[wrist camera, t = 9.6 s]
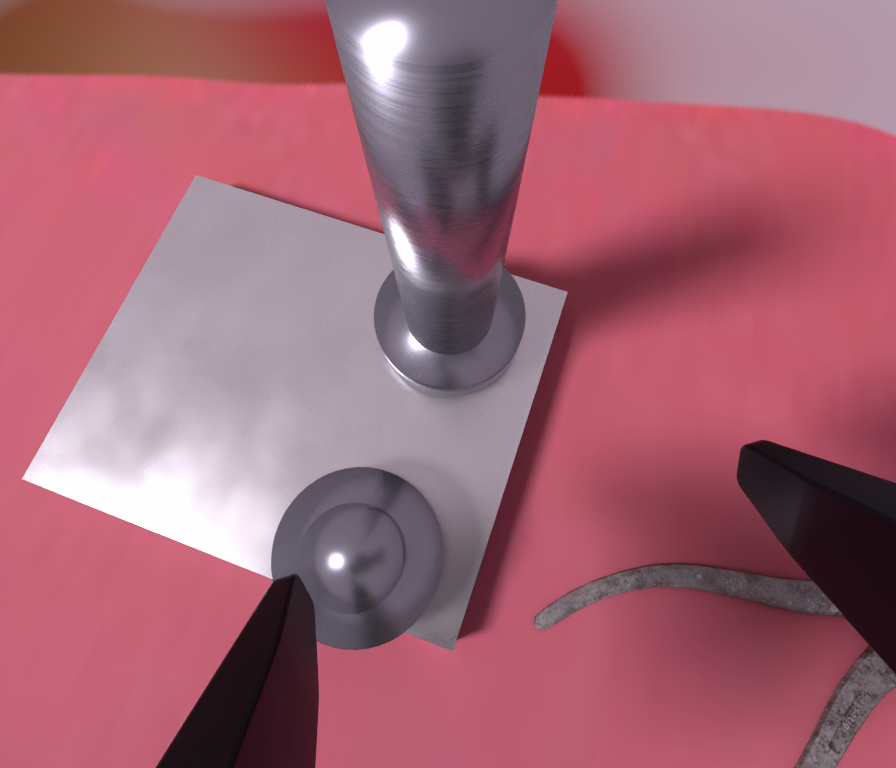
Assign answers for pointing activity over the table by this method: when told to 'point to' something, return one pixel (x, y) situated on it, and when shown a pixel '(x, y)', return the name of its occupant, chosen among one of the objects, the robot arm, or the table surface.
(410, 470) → the plate
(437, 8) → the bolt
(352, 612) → the grey metal knob
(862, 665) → the pliers
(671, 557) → the table surface
